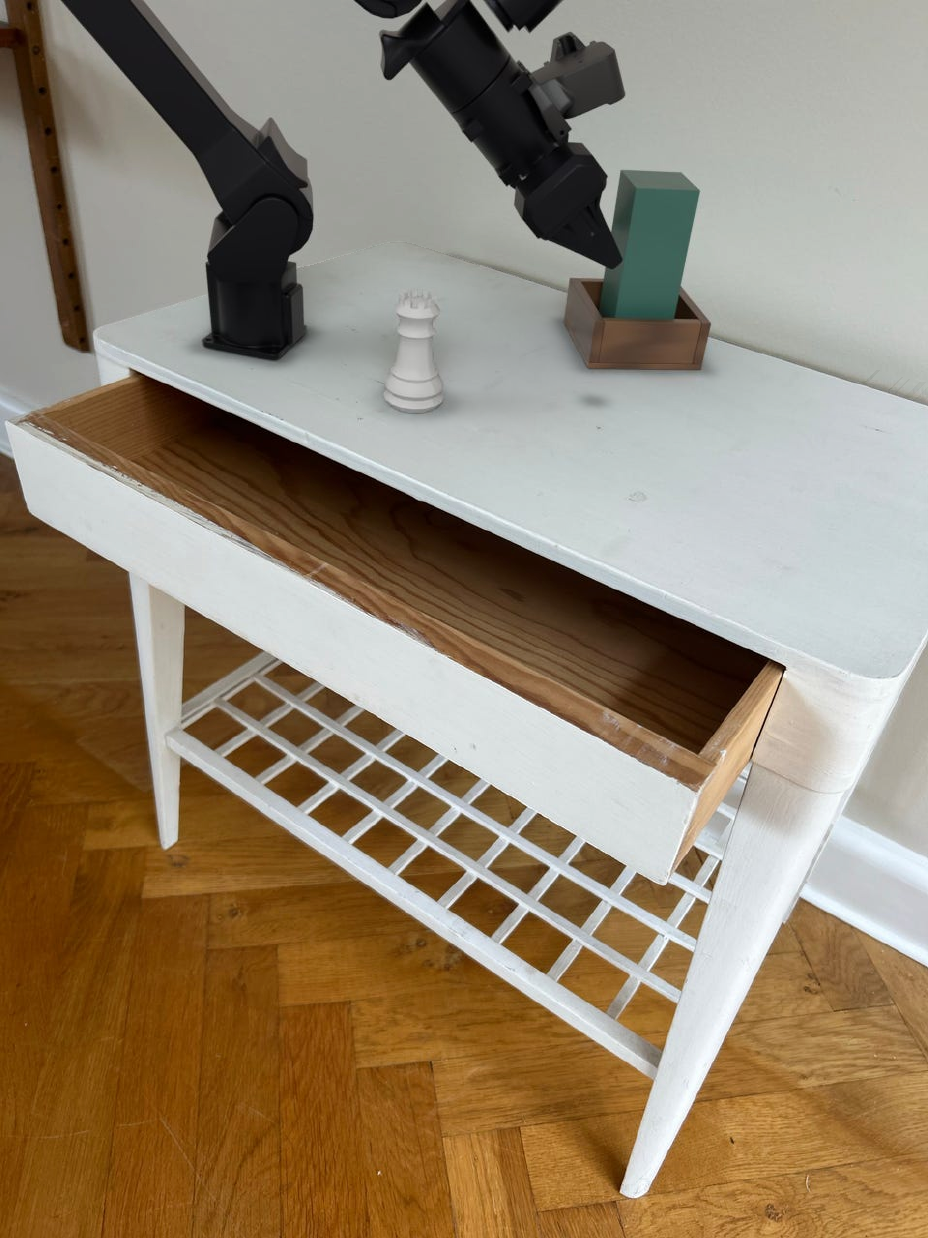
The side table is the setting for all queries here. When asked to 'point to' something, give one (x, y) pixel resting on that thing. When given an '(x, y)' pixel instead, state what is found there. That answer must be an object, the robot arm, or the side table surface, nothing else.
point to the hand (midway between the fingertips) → (603, 244)
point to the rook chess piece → (415, 356)
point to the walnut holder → (634, 333)
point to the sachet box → (649, 244)
